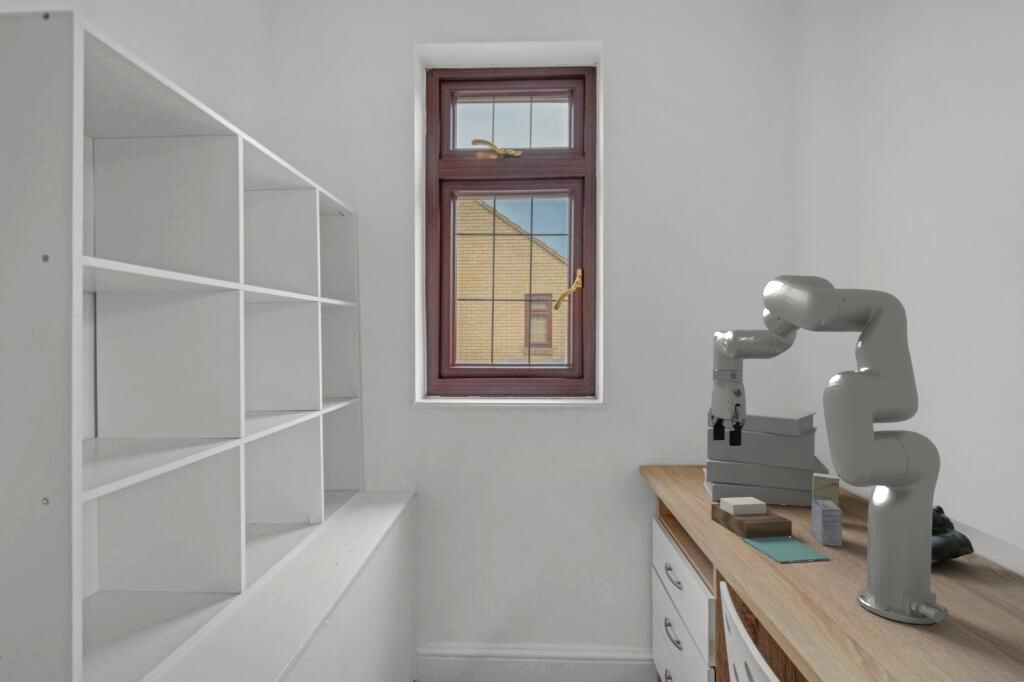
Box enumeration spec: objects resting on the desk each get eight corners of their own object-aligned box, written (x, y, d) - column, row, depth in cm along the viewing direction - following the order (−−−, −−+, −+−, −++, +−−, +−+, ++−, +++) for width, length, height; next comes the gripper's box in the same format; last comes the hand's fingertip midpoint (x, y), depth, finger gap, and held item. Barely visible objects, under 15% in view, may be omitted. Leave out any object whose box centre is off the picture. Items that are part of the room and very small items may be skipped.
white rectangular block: (766, 513, 146) (766, 503, 146) (733, 514, 144) (733, 504, 144) (752, 506, 152) (752, 496, 152) (720, 507, 150) (720, 498, 150)
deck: (791, 537, 140) (791, 521, 140) (746, 540, 138) (746, 523, 138) (752, 517, 156) (752, 502, 156) (711, 519, 154) (711, 504, 154)
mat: (829, 559, 126) (829, 558, 126) (779, 563, 124) (779, 561, 124) (787, 537, 140) (787, 536, 140) (742, 540, 138) (742, 538, 138)
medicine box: (842, 547, 134) (842, 509, 134) (821, 545, 135) (821, 508, 135) (830, 535, 142) (831, 500, 142) (811, 534, 143) (811, 499, 143)
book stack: (842, 513, 160) (843, 420, 160) (709, 505, 167) (710, 415, 167) (808, 486, 190) (809, 407, 190) (696, 480, 197) (697, 403, 196)
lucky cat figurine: (903, 569, 121) (875, 502, 127) (892, 572, 131) (866, 510, 138) (985, 556, 117) (952, 488, 124) (967, 560, 127) (937, 497, 134)
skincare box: (811, 521, 153) (812, 475, 152) (811, 517, 156) (812, 472, 156) (838, 525, 150) (839, 478, 150) (838, 520, 154) (839, 474, 153)
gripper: (759, 379, 148) (758, 448, 148) (723, 374, 165) (722, 437, 165) (732, 379, 147) (731, 449, 147) (698, 374, 164) (697, 437, 164)
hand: (726, 442), depth 156 cm, fingers open, 7 cm apart
